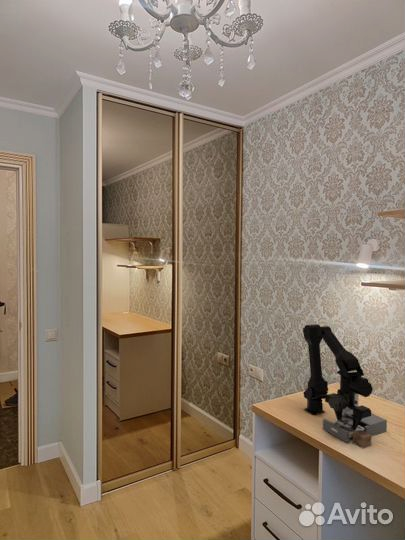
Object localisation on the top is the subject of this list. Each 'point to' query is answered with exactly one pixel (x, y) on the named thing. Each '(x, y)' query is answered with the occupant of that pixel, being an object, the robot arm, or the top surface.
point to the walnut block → (362, 439)
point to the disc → (345, 423)
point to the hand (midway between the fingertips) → (346, 425)
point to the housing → (370, 423)
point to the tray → (339, 430)
